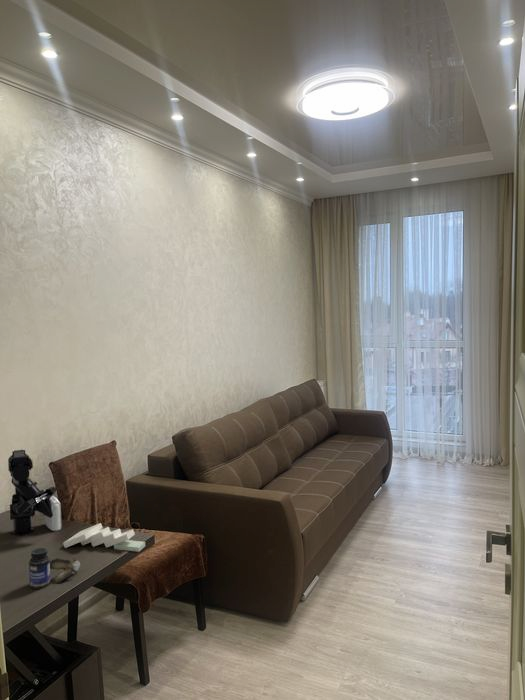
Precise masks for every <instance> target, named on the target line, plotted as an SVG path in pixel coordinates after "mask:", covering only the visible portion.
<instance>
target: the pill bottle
mask: <svg viewBox="0 0 525 700" xmlns="http://www.w3.org/2000/svg"><path fill="white" fill-rule="evenodd" d="M30 553H31V554H30V556H31V558H30V559H29V560H28V569H29V570H28V571H29V572H28V575H29V578H28V579H29V587H30V588H31V589H35V590H36V589H37V590H38V589H42V588H45V587H47V586H49V584H51V583H50V582H51V569H50V561H51V559H50V557H49V555H48V549H47V547H46V548H45V547H38V548H34V549H33V550H31V552H30Z"/></svg>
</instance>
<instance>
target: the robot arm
mask: <svg viewBox="0 0 525 700" xmlns="http://www.w3.org/2000/svg"><path fill="white" fill-rule="evenodd" d="M11 454H12V455H10V456H9V458H8V459H7V460H8V461H7V464H8V472H9V473H10V477H11V481H10V483H11V484H12V485H13V486H14V492H15V493H14V494H12V495H11V496H12V497H11V504H9V513H10V514H9V516H10V517H9V519H10V521H13V523H12V524H13V529H12V530H11V531H10V534H12V535H17V536H19V537H21V536H23V535H26V534H29V533H30V532H33V531H35V528H33V527H32V521H31V520H32V519H31V517H32V518H33V517H34V516H35V515H36V512H39V513H41V514H43V515H44V516H45V515H46V516H48V517H49V518H51V517H52V516H53V513H52V508H51V503H50V498H51V497H52V496H54V495H55V494H56V493H57V492H58V489H57V488H56V487H55V486H49V488H47V489H45V490H44V489H41V490H40V489H39V488H38V486H37V485H38V483H37V481H34V482H33V480H32V479H31V478H30V471H32V469H33V468H34V464H33V460H32V458H31V457H30V455H28V454H27V453H26V450H25V449H17V450H13V451H12V453H11Z"/></svg>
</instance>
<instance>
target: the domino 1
mask: <svg viewBox="0 0 525 700" xmlns="http://www.w3.org/2000/svg"><path fill="white" fill-rule="evenodd" d="M102 529H104V527H103V525H102V523H101V522H100V523H97V524H95V525H92V526H90V527H87V528H85V529H83V530H80V531H78V532H77V533H75V534H74V535H73V536H72V537H70V538H68V539H67V540H65V541H64V542H63V543H62V544H63V546H64V548H65V549H66V548H69V547H71V546H74V545H76V544H78V543H81V541H84V540H86V539H88V538H89V537H91V536H92V535H93V534H95V533H96V532H98V531H99V530H102Z"/></svg>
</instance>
